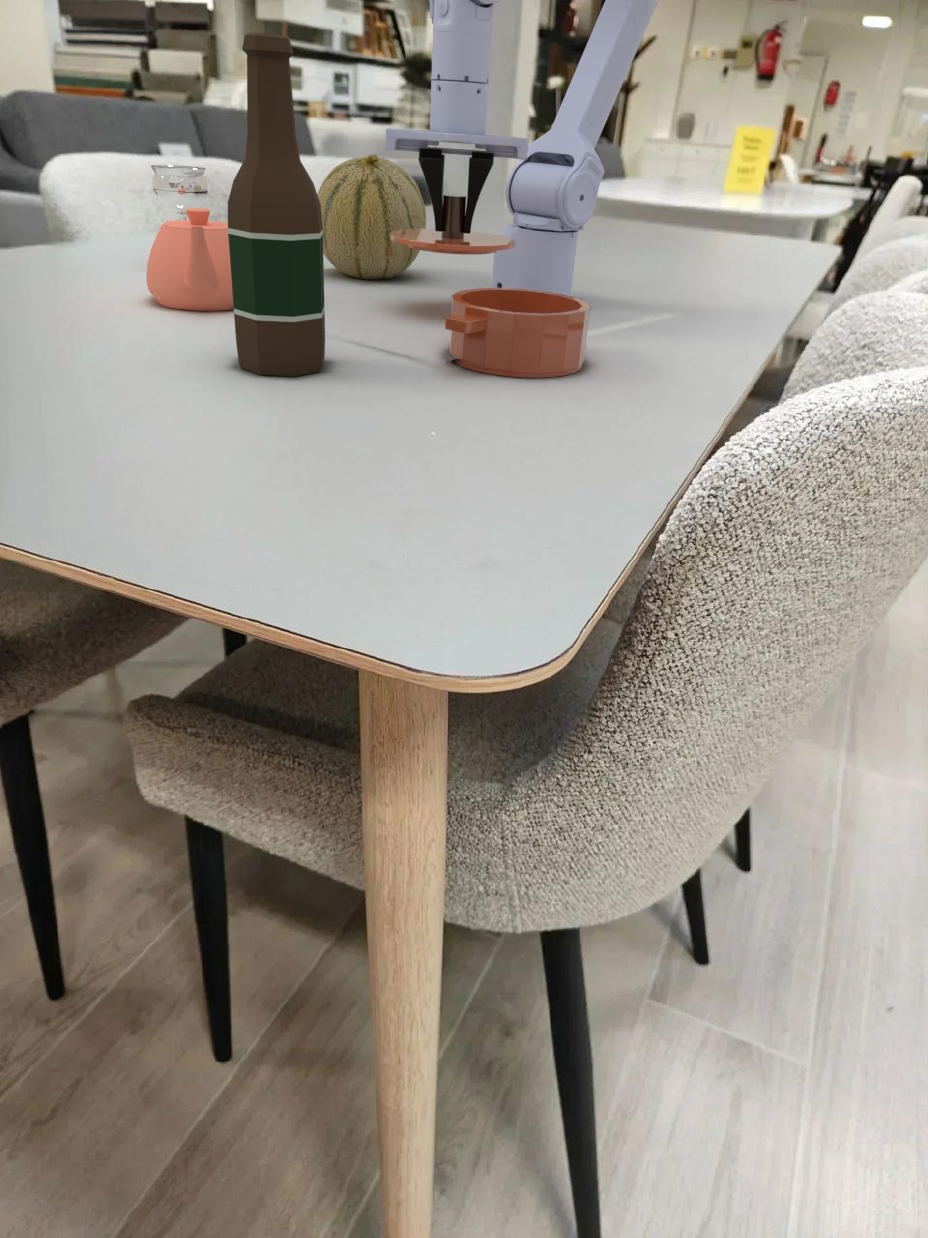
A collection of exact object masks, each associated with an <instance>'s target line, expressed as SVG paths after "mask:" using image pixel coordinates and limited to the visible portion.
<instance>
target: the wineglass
mask: <svg viewBox="0 0 928 1238" xmlns="http://www.w3.org/2000/svg"><path fill="white" fill-rule="evenodd" d="M150 168H151V170H152V171H153V177H152V183H151V185H152V189H153V192H154V194H155V197H156V198H157V199H158V201H159V202H160V203H161V204H162V205H163V206H164V207H166V208H168V209H170V210H171V211H173V212H175V214H176V215H177V217H179V220H188V219H187V217H188V215H187V213H186V209H188V208H201V206H202V205H203V204H204V202H205V200H206V199H207V196H208V192H209V190H208V188H209V187H208V182H207V180H206V179H205V176H204V174H205V172H206V167H201V166H193V165H177V164H176V165H175V164H153V165H150Z"/></svg>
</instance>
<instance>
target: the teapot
mask: <svg viewBox="0 0 928 1238" xmlns="http://www.w3.org/2000/svg"><path fill="white" fill-rule="evenodd" d="M210 212H211V210H210V209H208V208H204V207H203V208H202V207H199V208H188V209H186V213H187V215H188V216H187V218H188V219H187V220H180V219H178V220H167V221H164V222H163V223H162V224H161V226H160V227H159V230H158V232H157V233H156V236H155V238H154V240H153V243H152V245H151V249H150V251H149V255H148V259H147V265H146V286H147V289H148V291H149V293H150V294H151V296H153V295H154V296H153V298H154V299H155V300H156V301H157V302H158V304H159V305H160V306H163V307H166V308H170V309H175V310H185V311H198V312H199V311H201V312H202V311H204V312H205V311H207V312H209V311H210V312H212V311H232V310H233V311H234V305H233V292H232V278H231V264H230V251H229V237H228V222H225V221H217V220H216V221H214V220H209V219H210V214H211V213H210ZM155 296H156V297H155ZM158 297H159V298H158Z"/></svg>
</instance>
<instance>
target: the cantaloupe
mask: <svg viewBox="0 0 928 1238" xmlns="http://www.w3.org/2000/svg"><path fill="white" fill-rule="evenodd" d="M317 195H318V198H319V201H320V204H321V215H322V226H323V256H324V257H325V258H326V260H327V261H328V262H329V263H330V264H331V265H332V266H333V267H334V268H335V269H336V270H337V271H339V272H340V273H342V274H345V275H346V276H349V277H351V278H354V279H361V280H362V279H363V280H376V281H377V280H387V279H391V278H393V277H396V276H398V275H399V274H401V273H403V272H404V271H406V270H407V269H408V268H409V267H411V265H412V263H414V261H415V260H416V258H417V257H418V255H419V254H420V251H421V250H417V249H413V248H411V247H408V246H407V245H405V244H401V243H397V242H394V241H392V240H391V239H390V238H389V234H390V232H392V231H395V230H402V229H427V213H426V211H427V210H426V206H425V202H424V198H423V196H422V193H421V190H420V188H419V186H418V184H417V183H416V181H415V180H414V178H413V177H412V176H411V175H410V174H409V173H408V172H407V171H406V170H405V169H404V168H403V167H401V166H400V165H398V164H396V163H395V162H393V161H391V160H389V159H386V158H384V157H379V156H378V155H377V154H375V153H374V154H370V155H368V156H359V157H355V158H351V159H347V160H345V161H343V162H341V163H340V164H338V165H336V166H335V167H333V169H331V170H330V171H329V173H328V174H327V175H326V176H325V177H324V179H323V180H322V182H321V185H320V187H319V189H318V191H317Z"/></svg>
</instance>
